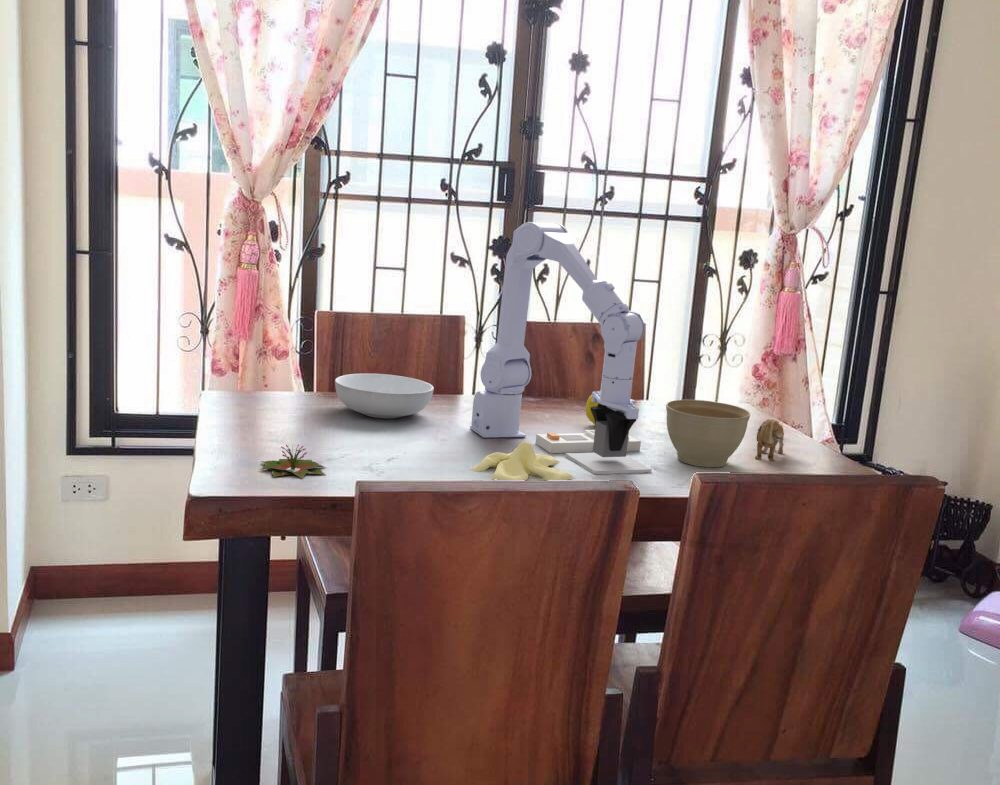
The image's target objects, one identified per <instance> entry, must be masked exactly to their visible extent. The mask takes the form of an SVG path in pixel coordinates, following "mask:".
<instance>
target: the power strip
mask: <svg viewBox="0 0 1000 785" xmlns="http://www.w3.org/2000/svg"><path fill="white" fill-rule="evenodd" d="M594 435H595V429H584V432H583V433H581V432H580V433H579V432H578V433H577V432H576V433H575V432H574V433H573V432H572V433H571V432H570V433H556V432H547V433H536V434H535V444H536V446H538V447H540V448H542V449H543V450H545V451H546V452H548V453H550V454H562V453H565V454H566V453H594V452H593V444H594ZM641 443H642V441H641V440H639V439H637V438H635V437H634V436H631V435H628V444H627V452H640V451H641Z"/></svg>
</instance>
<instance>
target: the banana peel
mask: <svg viewBox="0 0 1000 785" xmlns="http://www.w3.org/2000/svg"><path fill="white" fill-rule="evenodd" d="M557 464H560V461H559V460H558V459H556V458H555V457H553V456H551V455H547V454H540V453H535V450H534V445H533V444H532V443H530V442H528V441H526V440H525V441H523V440H522V441H521V442H520V443H519V444H518V445H517V446H516V447H515V448H514V449H513V451H512V452H510V453H505V452H500V451H499V452H493V453H490V454H488V455H486V456H485V457H484V458H483V459H482V460H481V461H480V462H479V464H478V465H475V466H473V467H471V468H470V469H469V471H472V472H484V471H487V470H488V469H489V468H496V469H495V471H494V474H493V475H492V477H491V480H492V479H497V480H527V479H528V480H529V476H530V475H532V476H536V477H539V478H541V479H543V478H544V479H543V480H545V481H547V480H567V479H570V480H572V479H574V476H573V475H572V474H570V473H569V472H567V471H564V470H559V469H557V468H553V467H554V466H555V465H557ZM549 466H552V467H549ZM571 478H572V479H571ZM528 480H527V481H528ZM567 481H568V480H567Z"/></svg>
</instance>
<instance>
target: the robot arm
mask: <svg viewBox="0 0 1000 785" xmlns="http://www.w3.org/2000/svg"><path fill="white" fill-rule="evenodd" d="M545 260H550V261H553V262H557V263H558V264H560V266H561V267H562V268H563V269H564V271H565V272H566V273H567V274H568V275H569V276H570V277H571V279H572V280H574V282H575V283H576V284H577V286H578V287H579V288H580V289H581V291H582V295H581V300H582V302H583V303H584V304H585V306H586V307H587V309H588V310H589V311H590V312H591V314H592V315H593V317H594V318H595V319H596V320H597V322H598V323H599V325H600V335H601V338H602V340H603V349H604V353H603V354H604V355H603V365H602V374H601V384H600V390H599V391H600V392H598V391H592V393H591V395H592V399H591V401H592V402H597V403H598V405H597V406H596V407H591V412H592V414H593V417H594V420H595V424H596V421H608V426H609V447H610V450H611V451H621V449H622V446H623V443H624V441H625V438H626V436H627V434H628V432H629V433H630V430H631V428H632V426H634V424H635V423H636V421H637V420H638V419H639V412H640V408H638V407H637V406H635V405H636V400H634V399H632V398H631V397H632V390H633V388H632V387H633V380H634V379H633V378H634V373H635V372H634V371H635V365H636V364H635V362H636V354H637V346H638V342H639V341H641V339H642V337H643V336H644V333H645V330H646V329H645V322H644V320H643V318H642V316H641V314H640V313H638V312H637V311H633V310H630V309H629V306H628V305H627V304H626V303H624V302H623V301H622V300H621V298H620V297H619V295H618V294H617V293H616V292H615V286H614V285H613V284H612V283H609V282H607V281H606V280H598V279H597V277H596V275H595V274H594V272H593V271H592V269H591V267H590V266H589V264H588V263H587V262H586V260H585V259H584V257H583V256H582V254H581V252H580V251H579V250H578V248H577V246H576V245H575V242H574V237H573V235H572V234H570V233H569V231H568V230H567V228H566V227H565V226H564V225H562V224H561V223H543V222H542V223H539V222H538V223H537V222H533V221H528V222H524V223H522V224H521V225H520V226H518V227H517V228H516V229H515V230H513V235H512V243H511V245H510V247H509V249H508V251H507V253H506V258H505V267H504V273H503V274H504V275H503V283H502V291H501V292H502V294H501V300H500V312H499V318H498V320H499V321H498V330H497V338H496V343H495V344H494V345H493V346H492V347H491V348H490V349H489V350H488V351H487V352H486V354H485V360H484V362H483V364H482V366H481V369H480V381H481V383H482V385H483V386H484V390H479V391H477V392H475V394H474V397H473V402H472V415H471V425H470V426H469V428H470V430H472V431H474V433H476V434H478V435H479V436H480V437H482V438H487V439H489V438H526V436H527V434H525V433H524V432H522V431H521V430H520V420H521V419H520V418H521V408H522V396H523V392H524V391H525V388H526V386H527V385H528V384H530V381H531V378H532V367H531V364H530V363H531V362H530V358H531V354H530V352H529V351H528V349H527V348H526V346H525V338H526V329H527V328H526V327H527V321H528V314H529V302H530V294H531V286H532V277H533V270H534V269H535V268H536V267H537V266H538V265H540V264H541V263H543V262H544V261H545Z"/></svg>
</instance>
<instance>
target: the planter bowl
mask: <svg viewBox="0 0 1000 785" xmlns="http://www.w3.org/2000/svg"><path fill="white" fill-rule="evenodd" d="M665 408H666V427H667V432H668V436H669V439H670V441H671V444H672V446H673V448H674V449H675V451H676V454H677V458H678V459H677V460H679V461H680V462H682V463H685V464H688V465H691V466H695V467H696V466H697V467H703V468H704V467H705V468H718V467H724V466H726V465H727V463H728V461H729V460H728V459H729V458H730V457H731V456H732V455H733V454H734V453H735V452H736V451H737V449H738V448H739V447H740V445H741V443H742V441H743V439H744V437H745V434H746V433H747V432H746V431H747V428H748V424H749V421H750V418H751V412H750V411H749V410H747V409H745V408H743V407H740V406H737V405H733V404H729V403H724V402H719V401H711V400H704V399H702V400H701V399H675V400H671V401H669V402H667V403H666V406H665Z"/></svg>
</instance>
